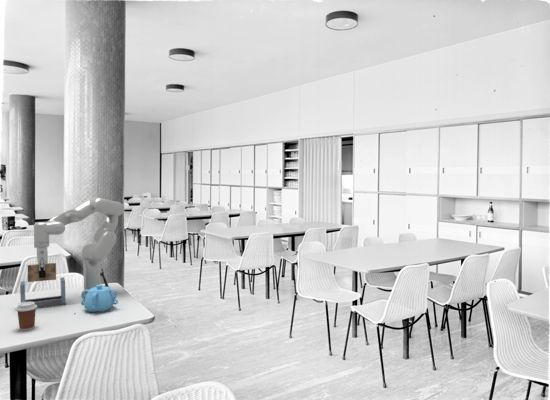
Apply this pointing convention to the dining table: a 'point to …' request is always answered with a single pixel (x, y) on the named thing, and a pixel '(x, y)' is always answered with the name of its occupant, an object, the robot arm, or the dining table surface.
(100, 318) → the dining table surface
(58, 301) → the door track
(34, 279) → the brown rectangular block
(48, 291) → the dining table surface
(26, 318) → the coffee cup
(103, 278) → the phone stand
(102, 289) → the decorative pot
